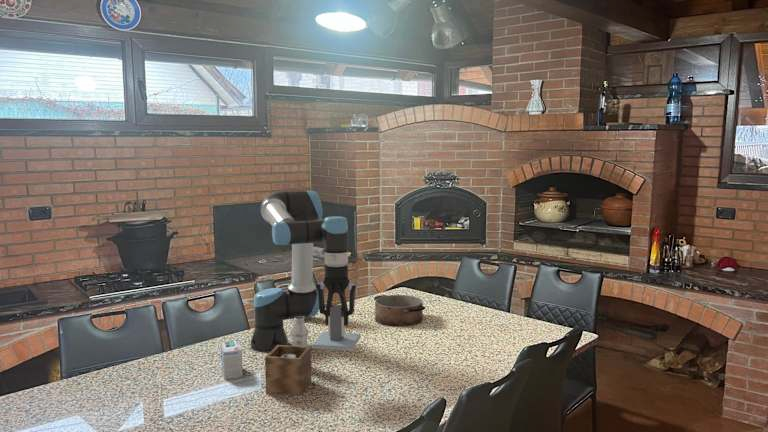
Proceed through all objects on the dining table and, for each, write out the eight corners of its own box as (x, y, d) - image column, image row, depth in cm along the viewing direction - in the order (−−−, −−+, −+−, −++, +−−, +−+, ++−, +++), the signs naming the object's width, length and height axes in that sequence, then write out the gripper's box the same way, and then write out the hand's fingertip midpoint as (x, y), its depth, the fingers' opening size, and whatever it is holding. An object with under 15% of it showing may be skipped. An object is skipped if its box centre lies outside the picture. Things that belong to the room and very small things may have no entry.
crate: (266, 396, 186) (265, 357, 185) (278, 382, 198) (277, 344, 196) (301, 399, 184) (300, 359, 183) (311, 384, 196) (310, 346, 195)
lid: (312, 350, 180) (311, 310, 179) (323, 337, 193) (322, 300, 191) (352, 352, 178) (351, 312, 177) (360, 339, 191) (360, 301, 189)
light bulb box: (221, 370, 209) (220, 342, 207) (239, 368, 211) (238, 340, 210) (223, 381, 199) (222, 351, 198) (243, 378, 201) (242, 349, 200)
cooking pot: (360, 320, 271) (360, 298, 270) (395, 311, 286) (395, 291, 285) (402, 335, 249) (402, 311, 247) (438, 325, 263) (438, 303, 262)
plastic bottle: (292, 374, 205) (291, 320, 203) (290, 367, 211) (289, 315, 209) (310, 372, 207) (309, 319, 204) (307, 365, 213) (306, 314, 211)
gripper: (308, 266, 180) (309, 337, 183) (359, 267, 178) (359, 339, 180) (314, 261, 188) (315, 330, 190) (363, 263, 185) (364, 332, 187)
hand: (337, 334), depth 185 cm, fingers closed on lid, 4 cm apart
